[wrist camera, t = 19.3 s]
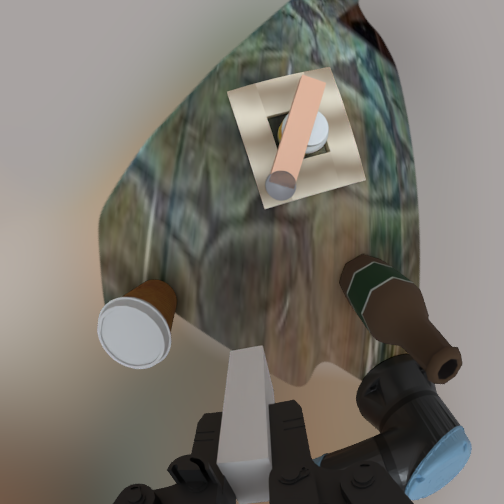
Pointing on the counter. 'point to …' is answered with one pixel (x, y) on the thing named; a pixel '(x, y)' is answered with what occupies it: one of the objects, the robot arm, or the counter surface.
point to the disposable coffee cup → (139, 325)
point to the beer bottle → (398, 315)
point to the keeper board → (263, 145)
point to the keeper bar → (295, 138)
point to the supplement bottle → (312, 133)
